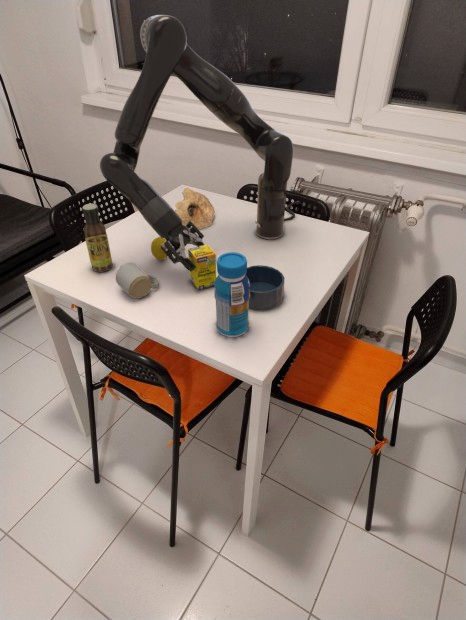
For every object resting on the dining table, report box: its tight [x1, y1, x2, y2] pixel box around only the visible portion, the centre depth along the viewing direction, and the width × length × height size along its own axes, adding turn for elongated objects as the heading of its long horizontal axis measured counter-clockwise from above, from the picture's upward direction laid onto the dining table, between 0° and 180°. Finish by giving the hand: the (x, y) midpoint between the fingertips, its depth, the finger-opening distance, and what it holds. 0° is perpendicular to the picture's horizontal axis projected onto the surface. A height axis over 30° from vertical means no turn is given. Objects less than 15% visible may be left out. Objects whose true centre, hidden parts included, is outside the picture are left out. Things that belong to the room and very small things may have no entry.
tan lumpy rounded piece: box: [174, 187, 216, 230], centre depth 145 cm, size 18×14×8 cm
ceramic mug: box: [115, 262, 160, 299], centre depth 110 cm, size 11×8×8 cm
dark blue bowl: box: [246, 264, 286, 312], centre depth 108 cm, size 13×13×6 cm
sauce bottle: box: [82, 203, 113, 273], centre depth 116 cm, size 6×6×20 cm
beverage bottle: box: [213, 251, 250, 338], centre depth 94 cm, size 8×8×20 cm
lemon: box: [150, 236, 168, 261], centre depth 123 cm, size 6×6×8 cm
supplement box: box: [187, 244, 217, 292], centre depth 112 cm, size 6×6×11 cm
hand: (200, 262), depth 111 cm, fingers open, 8 cm apart
